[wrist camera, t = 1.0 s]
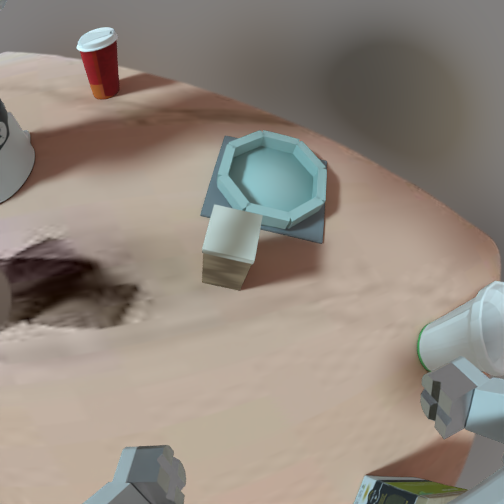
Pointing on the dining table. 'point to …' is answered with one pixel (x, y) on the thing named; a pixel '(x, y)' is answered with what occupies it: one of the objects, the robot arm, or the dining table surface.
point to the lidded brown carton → (230, 246)
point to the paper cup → (100, 61)
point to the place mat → (303, 230)
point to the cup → (468, 334)
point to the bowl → (272, 178)
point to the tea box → (404, 491)
